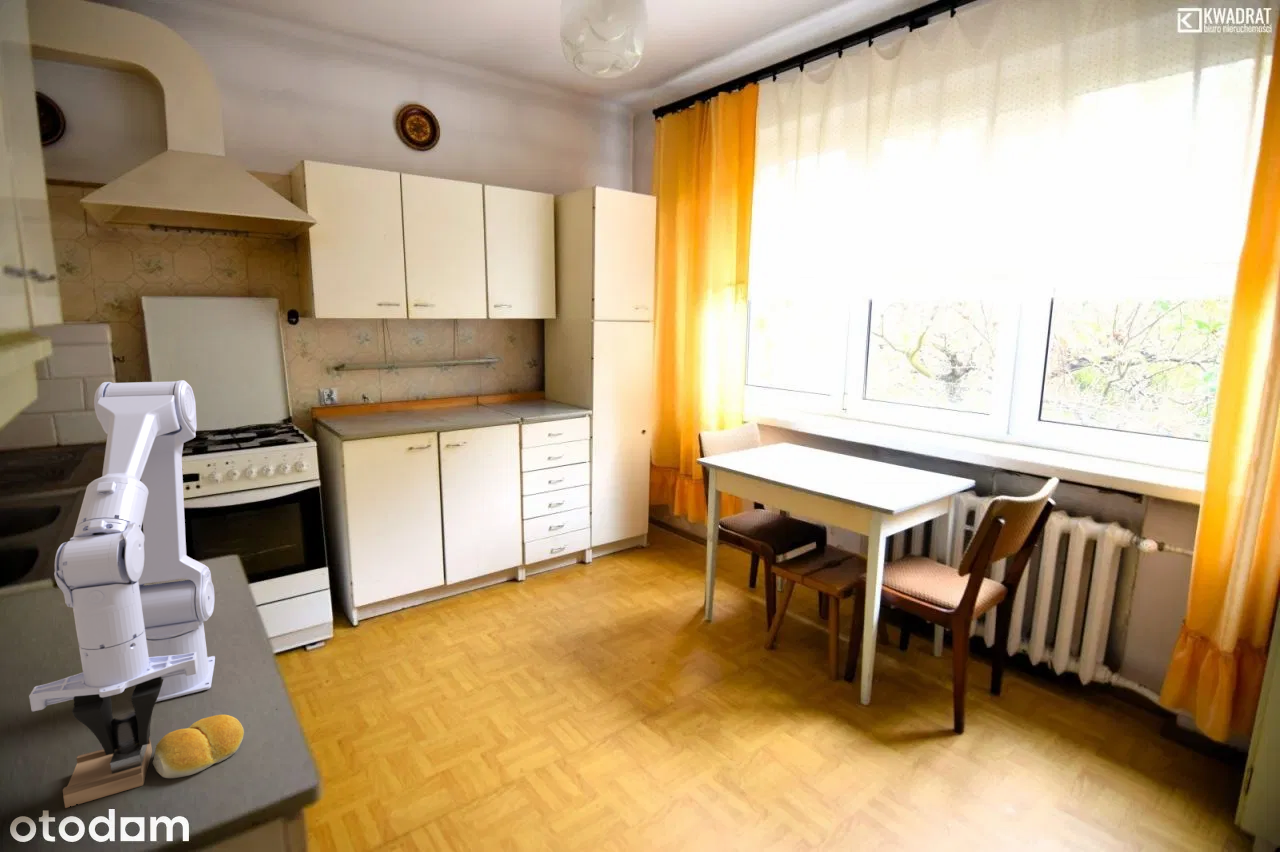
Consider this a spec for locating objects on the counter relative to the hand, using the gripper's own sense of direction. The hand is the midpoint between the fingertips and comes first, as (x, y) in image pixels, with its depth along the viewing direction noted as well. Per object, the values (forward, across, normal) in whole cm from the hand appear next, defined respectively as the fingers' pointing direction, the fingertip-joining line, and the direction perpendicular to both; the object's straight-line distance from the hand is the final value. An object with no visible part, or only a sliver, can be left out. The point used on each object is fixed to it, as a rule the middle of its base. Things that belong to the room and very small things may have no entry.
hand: (128, 744), depth 72 cm
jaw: (+2, 0, 0) cm, 2 cm away
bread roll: (+4, +6, 0) cm, 8 cm away
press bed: (+4, -2, 0) cm, 4 cm away
